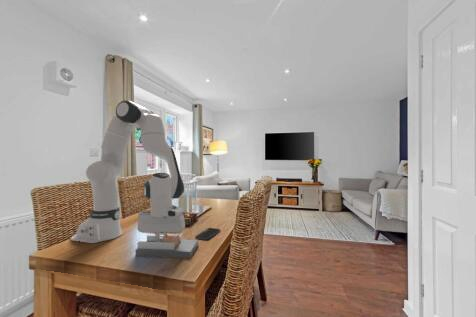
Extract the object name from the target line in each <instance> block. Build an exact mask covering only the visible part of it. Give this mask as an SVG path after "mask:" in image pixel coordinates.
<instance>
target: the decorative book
mask: <svg viewBox="0 0 476 317" xmlns="http://www.w3.org/2000/svg"><path fill="white" fill-rule="evenodd" d="M181 214H183V216H184V219H185V227H190V226H191V225H193V224H194V222H196V221H197V220H198V212H187V211H183V212H182V213H181Z"/></svg>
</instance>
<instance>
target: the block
mask: <svg viewBox="0 0 476 317" xmlns="http://www.w3.org/2000/svg"><path fill="white" fill-rule="evenodd" d="M179 235H180V233H168V234H167V235H166V236H165V237H164V242H175V247H176V246H177V245H178V244H179Z"/></svg>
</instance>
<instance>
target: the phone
mask: <svg viewBox="0 0 476 317" xmlns="http://www.w3.org/2000/svg"><path fill="white" fill-rule="evenodd" d="M220 232H221V228H215V227H213V228H212V227H208V228H206V229H205V230H203V231H202V232H200V233H198V234H197V235H195V237H194V238H195V239H194V240H200V241H205V242H207V241H210V240H211V239H212V238H214V237H215V236H217V234H219V233H220Z"/></svg>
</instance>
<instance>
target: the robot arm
mask: <svg viewBox="0 0 476 317" xmlns="http://www.w3.org/2000/svg"><path fill="white" fill-rule="evenodd" d="M135 129H137V130H138V131H140V140H141V147H142V148H143V151H145V152H146V153H148V154H149V155H152V156H154V157H158V158H160V159H162V160H164V161H165V162H166V164H167V167H168V171H169V174H168V173H166V172H156V173H153V174H152V175H151V179H149V180H146V182H144V183H143V198H145V199H147V200H148V201H149V200H150V209H148V210H145V209H141V210H140V211H139V212H138V220H137V221H138V222H137V231H138V232H139V233H154V235H155V236H156V237H157V238H158V242H164V237H165V236H166V235H167V234H168V233H169V234H181V233H183V232H184V231H185V229H186V226H185V219H184V216H183V214H181V213H182V212H184V210H183V208H182V207H180V206H176V205H174V204H173V201H172V199H179V198H180V197H181V196H182V195H183V194H184V193H185V185H184V182H183V178H182V176H181V172H180V169H179V165H178V162H177V157H176V154H175V151H174V149H173V147H172V146H170V145H169V144H168V142H167V140H166V133H165V127H164V123H163V120H162V118H161V116H159V115H158V114H155V113H154V112H153V111H151V110H149V109H147V108H146V107H145V106H143V105H140V104H137V103H135V102H133V101H131V100H127V99H126V100H122V101H120V102H119V103H118V104H117V105H116V107H115V115H114V116H113V117H112V119H111V120H110V122H109V124H108V127H107V128H106V131H105V135H104V137H103V140H102V144H101V147H100V149H101V156H100V160H97V161H95V162H93V163H91V164H90V165H88V167H87V168H86V171H85V175H86V178H87V179H88V180H89V183H90V186H91V191H92V197H93V198H92V199H93V200H92V201H93V203H92V204H93V207H92V210H90V211H88V212H87V213H88V215H89V218H87V219H86V220H84V221H83V222H82V223H80V224H79V225H78V227H77V229H76V233H75V234H74V235H72V237H70V241H72V242H73V241H74V242H79V241H80V242H81V243H88V244H96V243H99V242H103V241H104V242H105V241H110V240H113V239H116V238H119V237H121V236H122V234H123V230H122V227H121V223H120V215H121V214H120V213H121V212H120V211H121V210H120V206H119V205H120V204H119V202H120V200H119V199H120V198H119V196H120V195H119V194H120V193H119V191H118V188H117V184H116V180H117V179H119V178H120V176H121V175H122V173H123V171H124V169H123V168H124V162H125V155H126V152H127V151H126V150H127V148H128V145H129V141H130V138H131V136H132V132H133V131H134V130H135ZM161 234H162V235H164V236H163V237H161V236H160V235H161ZM80 242H79V243H80Z"/></svg>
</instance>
